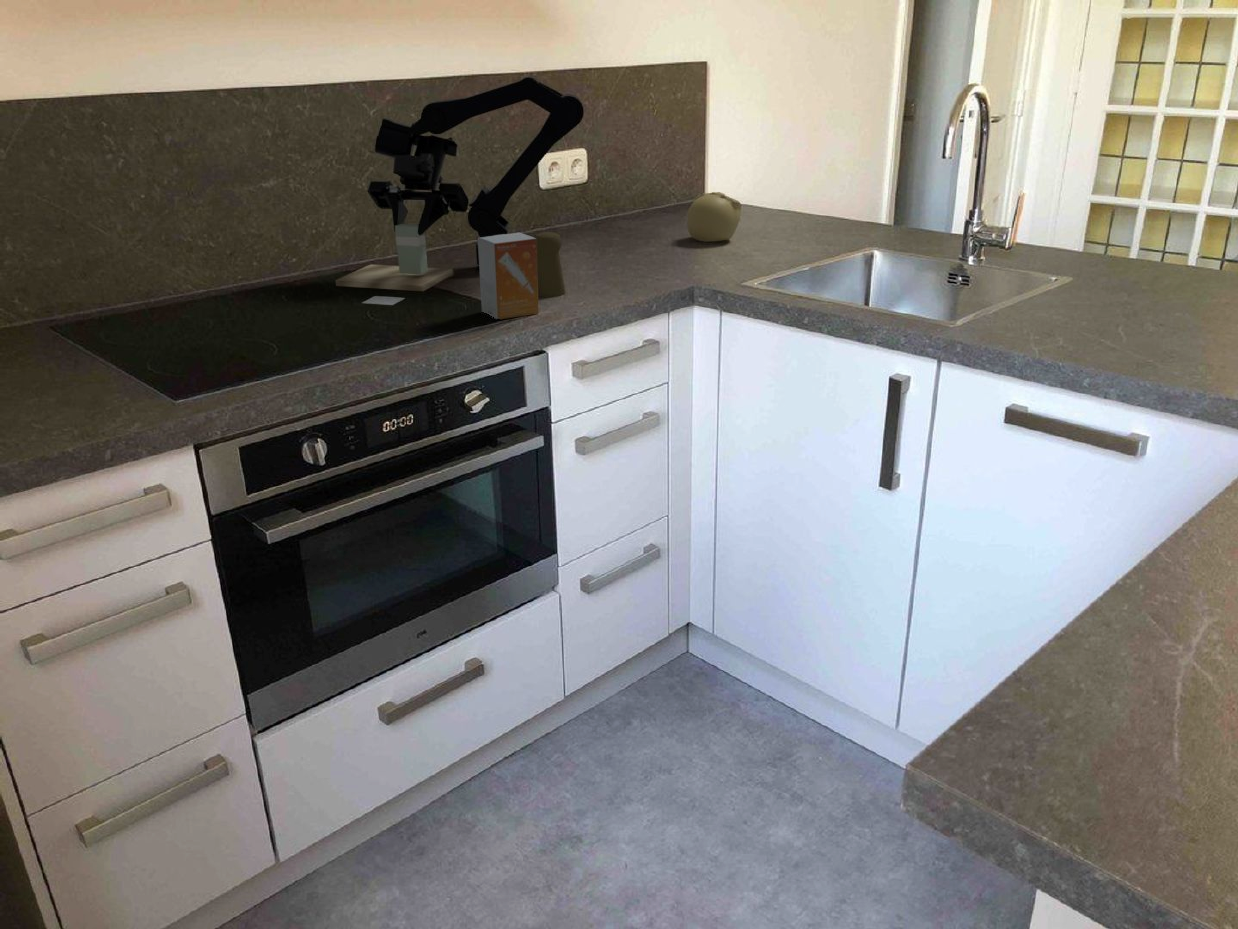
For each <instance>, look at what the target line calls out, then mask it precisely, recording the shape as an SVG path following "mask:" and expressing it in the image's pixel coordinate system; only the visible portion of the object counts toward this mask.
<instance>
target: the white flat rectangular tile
mask: <svg viewBox="0 0 1238 929" xmlns="http://www.w3.org/2000/svg"><path fill="white" fill-rule="evenodd" d="M404 299H405V297H396V296H383V295H382V296H379V295H375V296H372V297H371V298H368V299H367V300H365V301H362V302H361V304H368V305H383V306H384V305H385V306H394V305H395V304H397V303H399V302H401V301H403V300H404Z"/></svg>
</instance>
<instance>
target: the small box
mask: <svg viewBox="0 0 1238 929" xmlns="http://www.w3.org/2000/svg"><path fill="white" fill-rule="evenodd" d="M534 237H535V236H530V235H528V234H525V233H522V232H514V233H507V234H502V235H494V236H489V237H480V238H478V237H477V244H478V253H479V265H478V266H479V270H478V271H479V284H480V285H479V287H480V300H481V301H480V304H481V313H482V312H484V313H487V314H489V315H490V316H492V317H491V318H493V317H494V318H493V319H495V320H497V319H500V320H504V319H511V318H517V317H524V316H530V315H537V314H539V312H540V311H539V296H538V276H537V244H536V238H534ZM484 313H483V314H484ZM490 316H489V317H490Z"/></svg>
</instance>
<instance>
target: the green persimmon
mask: <svg viewBox="0 0 1238 929" xmlns="http://www.w3.org/2000/svg"><path fill="white" fill-rule="evenodd" d="M741 212H742V204H741V202H740V201H739V200H737V199H735V198H732V197H730V196H727V195H726V194H725V193H723V192H720V191H713V192H712V191H711V192H702V193H701V194H699V195H698V196H696V197H694V201H693V202H692V204H691V205H690V206H689V209H688V211H687V214H686V228H687V231H688V234H689V235H690V237H691V238H692V239H695V240H696V241H700V242H706V243H710V242H719V241H720V242H721V241H728V240H730V239H732V237H733V236H734V234H735V232H736V230H737V228H738V226H739V223H740V222H741V215H742V213H741Z"/></svg>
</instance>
